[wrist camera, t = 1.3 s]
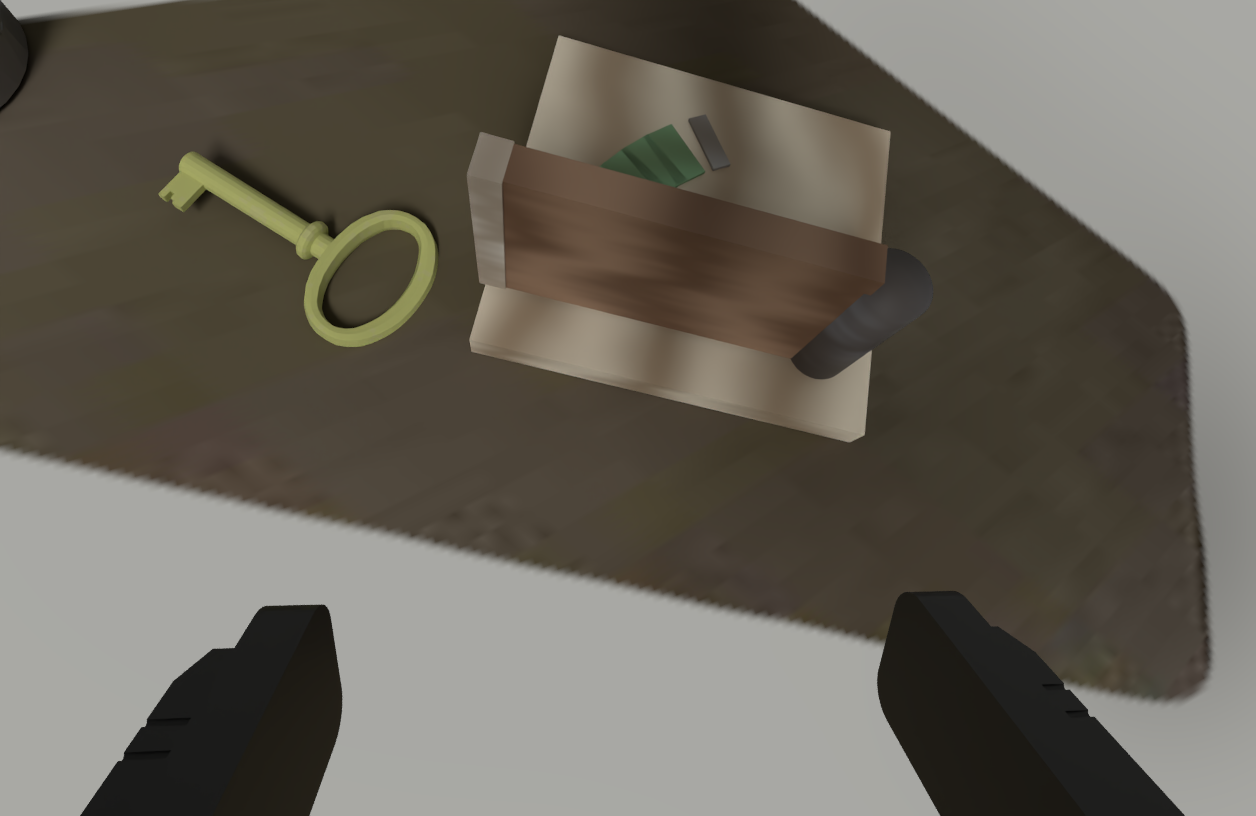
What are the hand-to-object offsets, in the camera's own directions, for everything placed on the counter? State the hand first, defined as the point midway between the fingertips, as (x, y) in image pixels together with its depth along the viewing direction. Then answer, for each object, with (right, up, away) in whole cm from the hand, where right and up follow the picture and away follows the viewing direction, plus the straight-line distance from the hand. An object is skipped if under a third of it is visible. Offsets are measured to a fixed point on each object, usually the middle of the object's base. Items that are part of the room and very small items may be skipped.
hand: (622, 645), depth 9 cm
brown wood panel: (+2, +8, +22) cm, 23 cm away
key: (-15, +11, +23) cm, 29 cm away
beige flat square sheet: (+4, +12, +25) cm, 28 cm away
